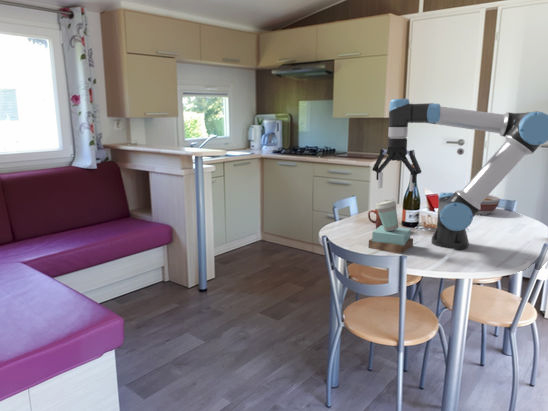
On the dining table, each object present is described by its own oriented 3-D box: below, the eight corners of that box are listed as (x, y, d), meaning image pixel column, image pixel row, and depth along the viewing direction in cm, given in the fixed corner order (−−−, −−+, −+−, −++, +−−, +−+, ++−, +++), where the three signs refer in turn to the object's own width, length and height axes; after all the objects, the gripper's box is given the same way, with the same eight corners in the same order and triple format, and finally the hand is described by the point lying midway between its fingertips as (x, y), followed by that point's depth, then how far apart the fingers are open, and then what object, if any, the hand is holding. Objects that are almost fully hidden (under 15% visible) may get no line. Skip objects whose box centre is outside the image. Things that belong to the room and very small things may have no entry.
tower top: (410, 237, 191) (410, 228, 191) (403, 245, 180) (404, 236, 179) (380, 234, 197) (380, 225, 197) (372, 241, 186) (372, 232, 185)
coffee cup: (403, 228, 183) (397, 200, 181) (383, 233, 184) (376, 206, 182) (399, 224, 191) (393, 197, 189) (380, 229, 192) (373, 202, 190)
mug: (393, 229, 220) (394, 208, 218) (391, 233, 212) (392, 212, 210) (369, 226, 224) (370, 207, 222) (365, 230, 216) (366, 210, 214)
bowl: (449, 209, 268) (451, 193, 266) (489, 210, 265) (490, 193, 263) (461, 217, 245) (463, 200, 243) (504, 218, 243) (506, 200, 241)
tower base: (412, 247, 191) (413, 238, 190) (400, 255, 180) (400, 246, 179) (382, 242, 199) (382, 233, 198) (368, 249, 188) (368, 240, 188)
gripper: (431, 138, 175) (428, 190, 179) (373, 136, 191) (371, 185, 195) (424, 138, 170) (421, 193, 174) (365, 137, 185) (363, 187, 189)
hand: (395, 189), depth 184 cm, fingers open, 13 cm apart
